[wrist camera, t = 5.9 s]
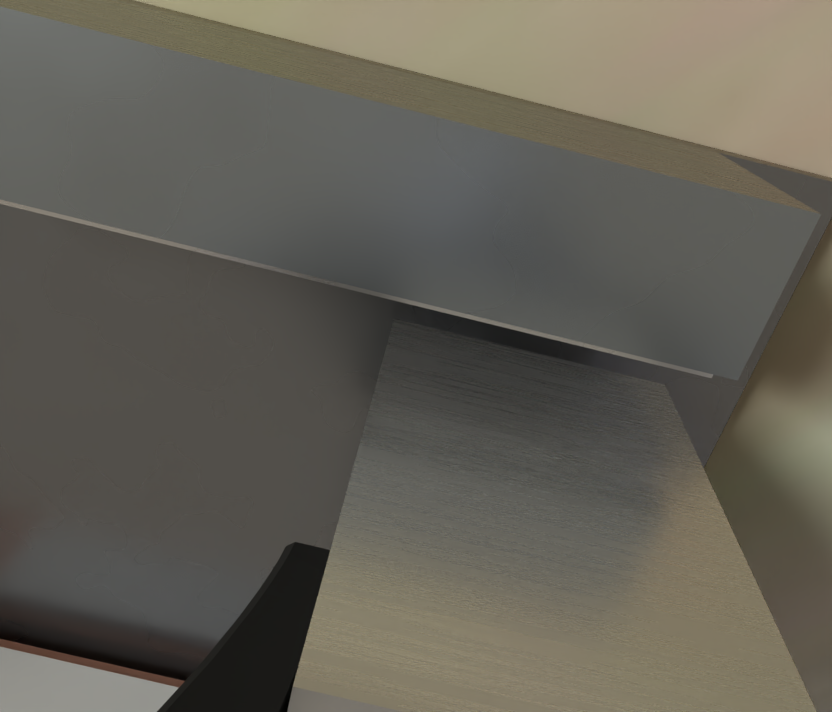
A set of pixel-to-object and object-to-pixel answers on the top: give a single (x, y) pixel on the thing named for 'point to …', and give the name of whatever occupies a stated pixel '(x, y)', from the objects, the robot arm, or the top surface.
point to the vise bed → (308, 293)
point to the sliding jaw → (75, 683)
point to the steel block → (533, 550)
